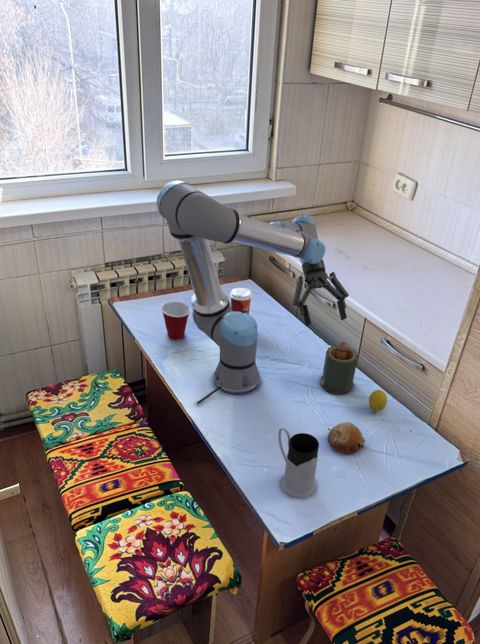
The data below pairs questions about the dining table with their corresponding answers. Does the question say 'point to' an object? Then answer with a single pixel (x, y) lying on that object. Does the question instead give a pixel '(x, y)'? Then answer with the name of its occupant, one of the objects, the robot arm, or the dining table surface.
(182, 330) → the plastic cup
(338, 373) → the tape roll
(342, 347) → the peg stand
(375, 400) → the lemon
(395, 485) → the dining table surface
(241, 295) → the coffee cup
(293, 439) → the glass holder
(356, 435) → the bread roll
